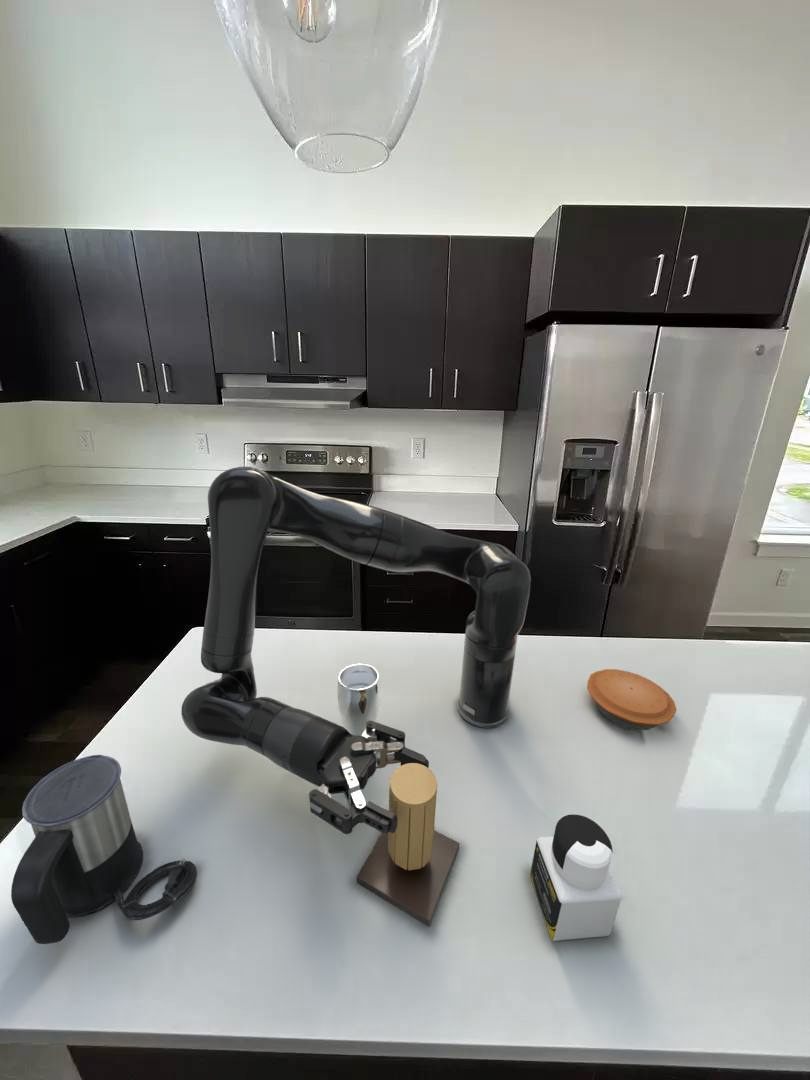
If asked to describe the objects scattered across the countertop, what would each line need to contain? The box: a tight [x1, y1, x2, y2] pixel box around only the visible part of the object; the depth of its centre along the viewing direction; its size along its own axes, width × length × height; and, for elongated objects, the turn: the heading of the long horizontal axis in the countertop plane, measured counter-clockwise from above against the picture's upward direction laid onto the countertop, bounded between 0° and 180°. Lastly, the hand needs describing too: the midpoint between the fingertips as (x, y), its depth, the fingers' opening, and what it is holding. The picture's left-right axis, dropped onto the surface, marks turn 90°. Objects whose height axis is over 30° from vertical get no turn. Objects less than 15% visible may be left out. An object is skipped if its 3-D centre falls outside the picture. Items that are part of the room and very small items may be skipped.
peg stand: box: [356, 830, 460, 928], centre depth 53 cm, size 10×10×14 cm
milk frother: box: [10, 754, 198, 945], centre depth 50 cm, size 14×16×15 cm
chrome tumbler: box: [336, 663, 381, 755], centre depth 70 cm, size 7×7×15 cm
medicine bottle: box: [529, 813, 623, 942], centre depth 50 cm, size 7×7×12 cm
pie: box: [586, 668, 677, 731], centre depth 83 cm, size 16×16×5 cm
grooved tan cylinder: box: [388, 763, 438, 870], centre depth 52 cm, size 6×6×11 cm
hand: (412, 794), depth 51 cm, fingers open, 8 cm apart
